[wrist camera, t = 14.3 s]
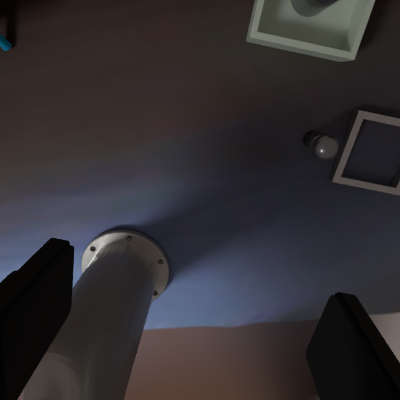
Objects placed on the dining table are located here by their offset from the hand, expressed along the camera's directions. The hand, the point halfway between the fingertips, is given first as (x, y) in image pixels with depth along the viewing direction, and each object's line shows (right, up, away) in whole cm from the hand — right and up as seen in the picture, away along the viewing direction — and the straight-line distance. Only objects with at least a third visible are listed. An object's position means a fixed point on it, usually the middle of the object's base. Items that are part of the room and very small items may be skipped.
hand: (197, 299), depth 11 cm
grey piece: (+19, +10, +26) cm, 33 cm away
